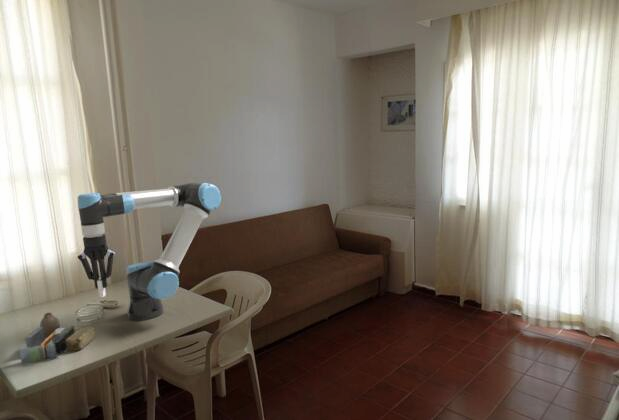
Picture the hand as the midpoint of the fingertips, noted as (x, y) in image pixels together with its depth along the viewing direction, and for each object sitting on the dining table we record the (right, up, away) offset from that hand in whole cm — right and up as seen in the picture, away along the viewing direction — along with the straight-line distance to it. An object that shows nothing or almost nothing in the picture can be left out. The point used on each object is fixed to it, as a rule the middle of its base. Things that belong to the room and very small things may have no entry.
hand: (102, 296), depth 162 cm
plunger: (-15, -19, -1) cm, 25 cm away
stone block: (-9, -19, +2) cm, 21 cm away
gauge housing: (-19, -20, -2) cm, 28 cm away
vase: (-27, -18, +13) cm, 35 cm away
